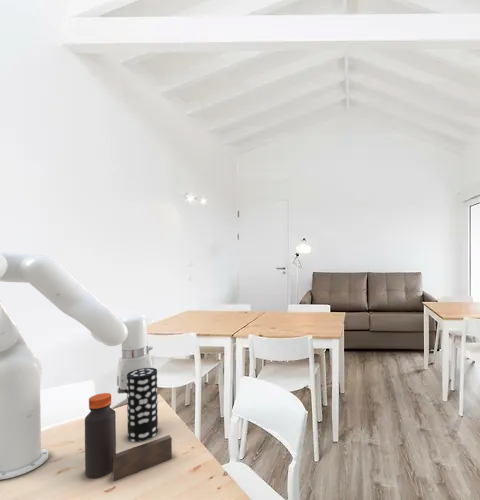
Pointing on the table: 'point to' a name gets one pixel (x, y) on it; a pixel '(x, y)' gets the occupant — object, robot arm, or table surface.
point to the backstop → (141, 457)
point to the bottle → (99, 436)
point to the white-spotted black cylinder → (142, 404)
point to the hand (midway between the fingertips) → (136, 406)
